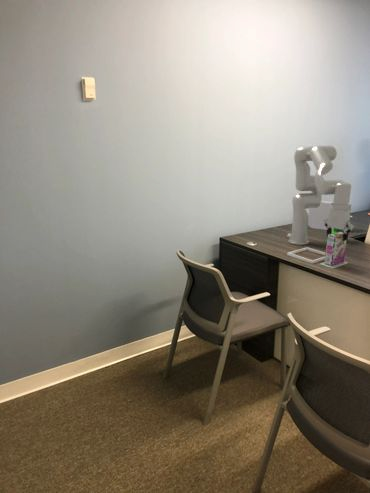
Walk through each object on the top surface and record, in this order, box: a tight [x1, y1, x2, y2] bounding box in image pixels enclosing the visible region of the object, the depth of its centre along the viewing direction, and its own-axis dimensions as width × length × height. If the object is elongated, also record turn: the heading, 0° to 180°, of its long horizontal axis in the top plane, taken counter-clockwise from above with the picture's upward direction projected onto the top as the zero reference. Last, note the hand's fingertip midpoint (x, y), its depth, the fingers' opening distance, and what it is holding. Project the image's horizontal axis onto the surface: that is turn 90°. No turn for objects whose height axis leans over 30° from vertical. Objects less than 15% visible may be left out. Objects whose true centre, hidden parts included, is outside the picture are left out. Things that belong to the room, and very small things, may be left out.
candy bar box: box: [323, 232, 348, 266], centre depth 204 cm, size 11×5×16 cm, turn 124°
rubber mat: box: [319, 260, 349, 270], centre depth 206 cm, size 8×14×1 cm, turn 125°
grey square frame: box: [286, 246, 326, 264], centre depth 219 cm, size 18×18×2 cm
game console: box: [308, 200, 352, 231], centre depth 273 cm, size 6×27×20 cm, turn 58°
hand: (336, 238), depth 203 cm, fingers open, 9 cm apart
